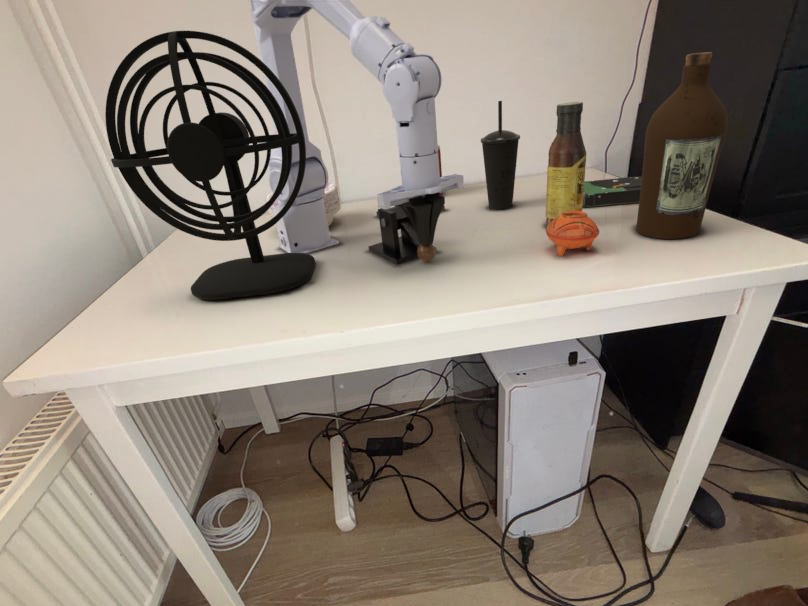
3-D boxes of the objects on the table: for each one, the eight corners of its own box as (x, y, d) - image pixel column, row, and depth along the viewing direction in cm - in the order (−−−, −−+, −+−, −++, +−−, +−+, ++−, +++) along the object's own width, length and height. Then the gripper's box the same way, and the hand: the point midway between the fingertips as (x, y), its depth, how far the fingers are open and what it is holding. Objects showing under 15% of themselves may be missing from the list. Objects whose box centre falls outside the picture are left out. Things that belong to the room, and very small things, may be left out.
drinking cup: (475, 207, 104) (472, 103, 94) (504, 200, 107) (505, 97, 96) (495, 214, 98) (494, 104, 88) (526, 206, 101) (529, 98, 90)
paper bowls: (260, 239, 102) (249, 201, 98) (295, 217, 114) (287, 182, 110) (324, 239, 97) (316, 199, 93) (354, 216, 109) (348, 180, 105)
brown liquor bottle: (625, 222, 86) (647, 57, 73) (691, 218, 84) (726, 47, 71) (641, 243, 77) (669, 59, 64) (714, 239, 75) (760, 48, 62)
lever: (437, 262, 80) (440, 248, 77) (422, 267, 79) (425, 253, 76) (400, 218, 85) (402, 204, 83) (385, 222, 84) (387, 208, 82)
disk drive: (642, 189, 103) (570, 195, 104) (644, 175, 101) (571, 181, 103) (662, 201, 94) (583, 208, 95) (664, 186, 93) (584, 193, 94)
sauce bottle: (582, 229, 85) (593, 103, 75) (545, 231, 87) (551, 107, 76) (578, 218, 91) (588, 99, 80) (544, 220, 92) (549, 103, 81)
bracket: (436, 252, 84) (433, 207, 80) (397, 265, 81) (391, 219, 76) (405, 240, 91) (401, 197, 87) (368, 251, 88) (362, 208, 84)
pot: (531, 248, 80) (541, 205, 77) (571, 249, 82) (582, 208, 79) (560, 261, 73) (571, 215, 70) (602, 262, 75) (615, 218, 72)
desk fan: (154, 315, 74) (39, 44, 56) (192, 272, 89) (111, 47, 71) (328, 295, 73) (270, 13, 55) (337, 254, 88) (294, 22, 70)
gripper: (389, 166, 65) (401, 262, 72) (475, 146, 70) (477, 237, 78) (365, 161, 70) (378, 251, 77) (446, 142, 76) (451, 228, 83)
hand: (426, 243), depth 78 cm, fingers closed, pressing on lever
